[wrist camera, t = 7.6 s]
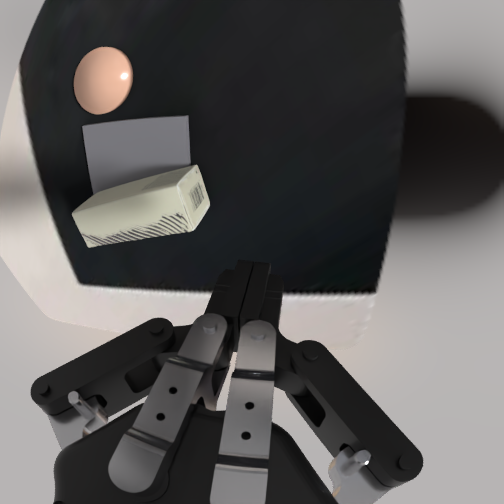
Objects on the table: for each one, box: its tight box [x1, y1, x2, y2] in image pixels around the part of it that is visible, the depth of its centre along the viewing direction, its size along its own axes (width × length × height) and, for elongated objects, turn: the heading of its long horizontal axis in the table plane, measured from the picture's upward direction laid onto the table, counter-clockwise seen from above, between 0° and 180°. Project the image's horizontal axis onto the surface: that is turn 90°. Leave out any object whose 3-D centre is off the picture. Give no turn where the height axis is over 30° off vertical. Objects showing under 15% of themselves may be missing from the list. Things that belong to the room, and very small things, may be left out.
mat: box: [82, 115, 191, 195], centre depth 28 cm, size 11×12×1 cm
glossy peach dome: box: [74, 47, 133, 114], centre depth 22 cm, size 7×7×1 cm
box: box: [72, 165, 210, 247], centre depth 27 cm, size 5×4×13 cm
